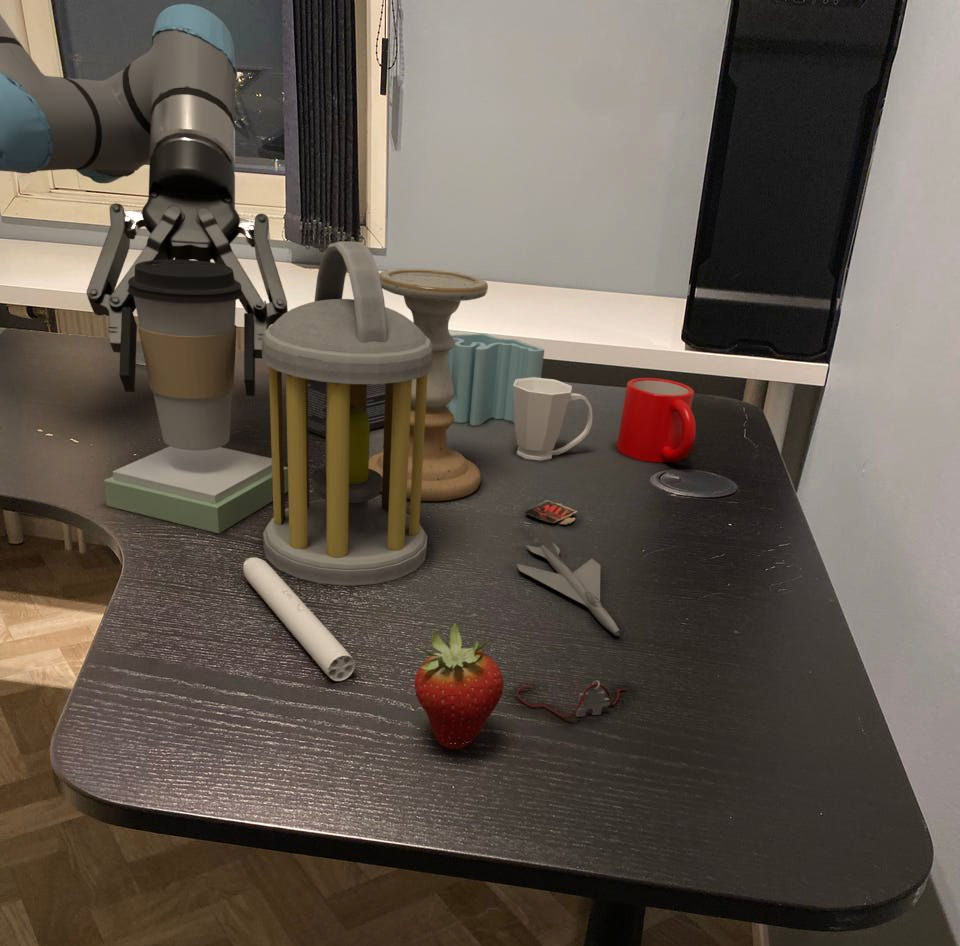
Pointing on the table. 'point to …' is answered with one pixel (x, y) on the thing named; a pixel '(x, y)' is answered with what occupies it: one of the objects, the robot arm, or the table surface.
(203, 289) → the coffee cup
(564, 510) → the matchbox
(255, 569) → the white cylindrical rod
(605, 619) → the toy airplane
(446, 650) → the fruit
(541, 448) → the cup
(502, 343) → the squiggly pen holder
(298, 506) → the lantern
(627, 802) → the table surface
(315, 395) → the small box
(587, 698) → the pendant
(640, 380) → the mug
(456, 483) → the candle holder
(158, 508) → the scale
